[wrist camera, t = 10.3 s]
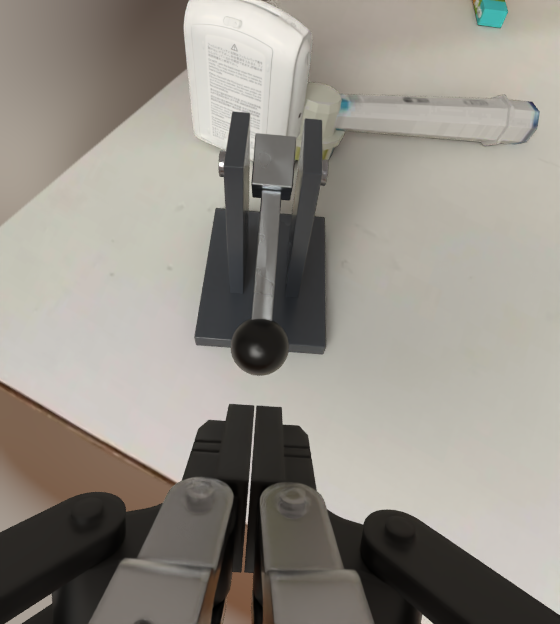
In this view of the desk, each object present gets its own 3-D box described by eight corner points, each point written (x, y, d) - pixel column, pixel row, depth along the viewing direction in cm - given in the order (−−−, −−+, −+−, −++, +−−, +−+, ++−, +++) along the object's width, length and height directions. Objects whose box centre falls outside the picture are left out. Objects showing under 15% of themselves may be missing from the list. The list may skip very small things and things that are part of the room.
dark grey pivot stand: (323, 354, 31) (366, 235, 20) (195, 345, 31) (169, 219, 20) (322, 226, 37) (355, 82, 27) (216, 217, 37) (205, 67, 26)
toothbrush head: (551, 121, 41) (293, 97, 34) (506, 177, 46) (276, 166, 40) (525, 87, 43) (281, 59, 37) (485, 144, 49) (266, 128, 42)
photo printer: (305, 150, 42) (326, 7, 32) (286, 178, 40) (301, 34, 29) (210, 115, 44) (199, -32, 33) (187, 140, 42) (168, -9, 31)
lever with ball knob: (285, 374, 26) (288, 380, 23) (230, 370, 26) (226, 376, 23) (301, 157, 27) (306, 133, 23) (247, 152, 26) (245, 128, 23)
